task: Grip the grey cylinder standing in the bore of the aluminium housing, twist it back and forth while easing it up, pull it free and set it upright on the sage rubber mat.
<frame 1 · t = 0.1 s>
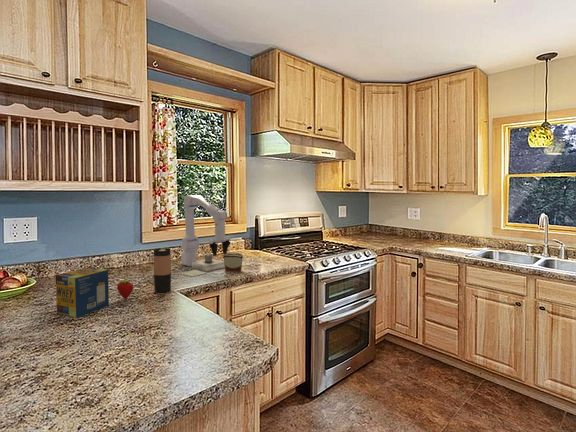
hand: (219, 254, 205), 10 cm above the worktop, tool pointing down, fingers open, 7 cm apart
food container: (234, 271, 209), on the worktop
protein box: (84, 310, 141), on the worktop
mat: (193, 273, 200), on the worktop
strawberry: (125, 299, 154), on the worktop
grey cylinder: (208, 261, 215), in the housing
housing: (208, 267, 215), on the worktop
travel mug: (162, 291, 167), on the worktop
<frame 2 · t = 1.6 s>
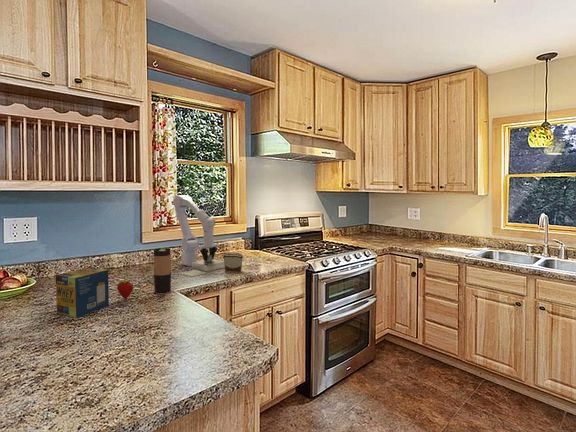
hand: (208, 260, 214), 5 cm above the worktop, tool pointing down, fingers closed on grey cylinder, 4 cm apart
grey cylinder: (208, 261, 215), in the housing, touching gripper
everything else where it was.
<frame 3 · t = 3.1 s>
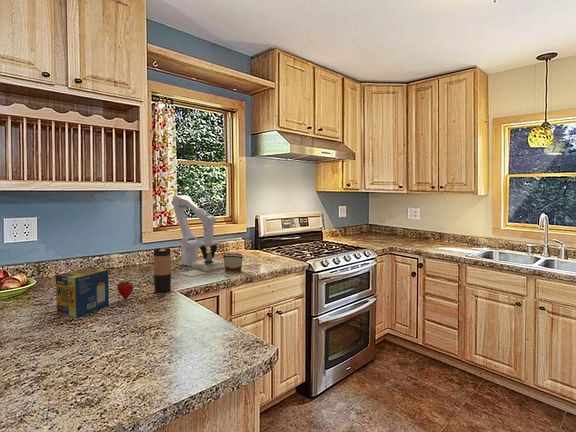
hand: (208, 257, 214), 6 cm above the worktop, tool pointing down, fingers closed on grey cylinder, 4 cm apart
grey cylinder: (208, 258, 214), point 5 cm above the worktop, touching gripper
everything else where it was.
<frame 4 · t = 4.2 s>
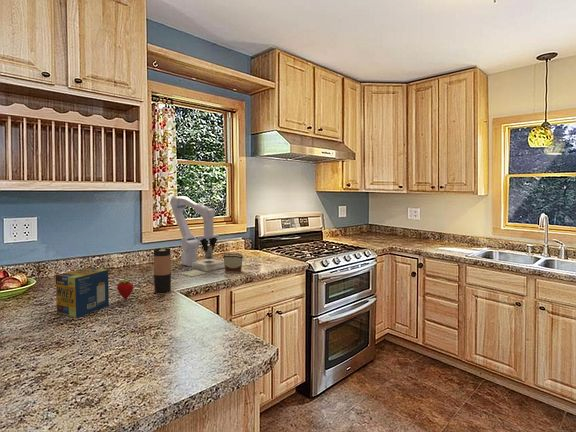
hand: (208, 250, 214), 10 cm above the worktop, tool pointing down, fingers closed on grey cylinder, 4 cm apart
grey cylinder: (208, 251, 214), point 10 cm above the worktop, touching gripper
everything else where it was.
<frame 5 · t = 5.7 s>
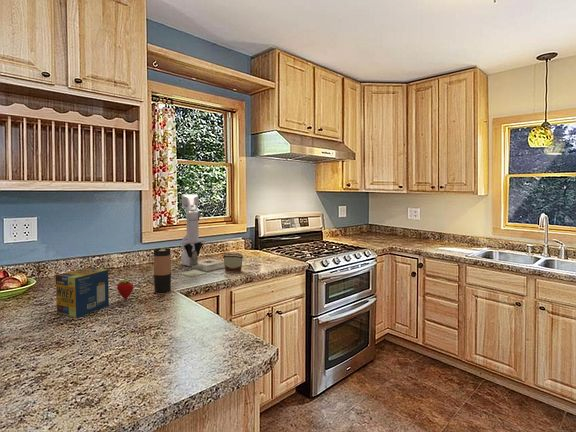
hand: (193, 256, 199), 10 cm above the worktop, tool pointing down, fingers closed on grey cylinder, 4 cm apart
grey cylinder: (193, 257, 199), point 9 cm above the worktop, touching gripper
everything else where it was.
when the fingers open (6 cm above the worktop, at t = 6.7 s): grey cylinder stays where it is, resting on mat.
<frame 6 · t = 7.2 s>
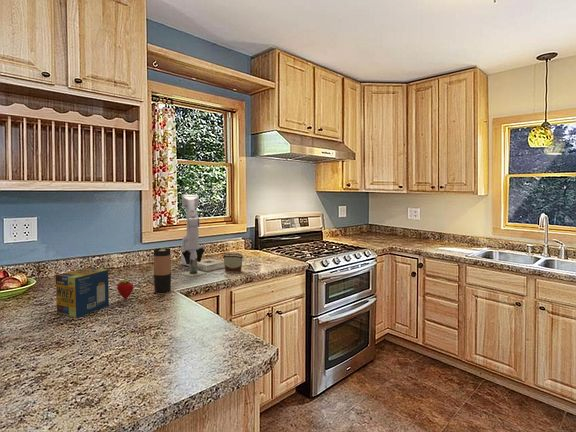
hand: (193, 262, 199), 6 cm above the worktop, tool pointing down, fingers open, 7 cm apart
grey cylinder: (193, 266, 200), on the mat
everything else where it was.
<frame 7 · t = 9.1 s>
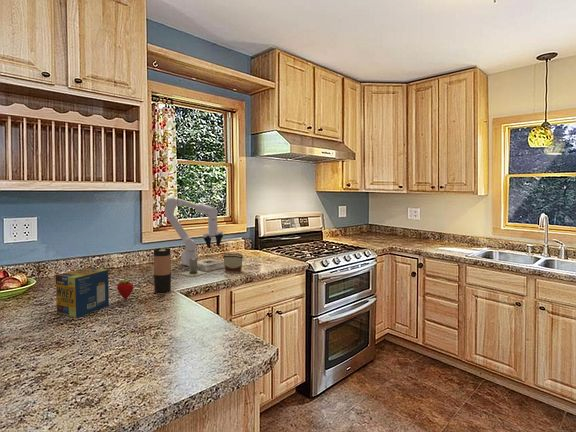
hand: (213, 247, 226), 10 cm above the worktop, tool pointing down, fingers open, 7 cm apart
nothing on the worktop moved.
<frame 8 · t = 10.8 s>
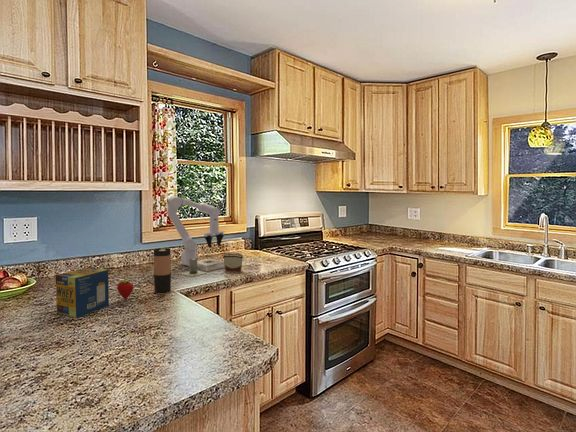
hand: (214, 246, 229), 10 cm above the worktop, tool pointing down, fingers open, 7 cm apart
nothing on the worktop moved.
at the end: grey cylinder inside the target area on the mat (0.0 cm from its centre), point 4.4 cm above the mat's base; grey cylinder tilted 0°; grey cylinder touching mat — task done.
